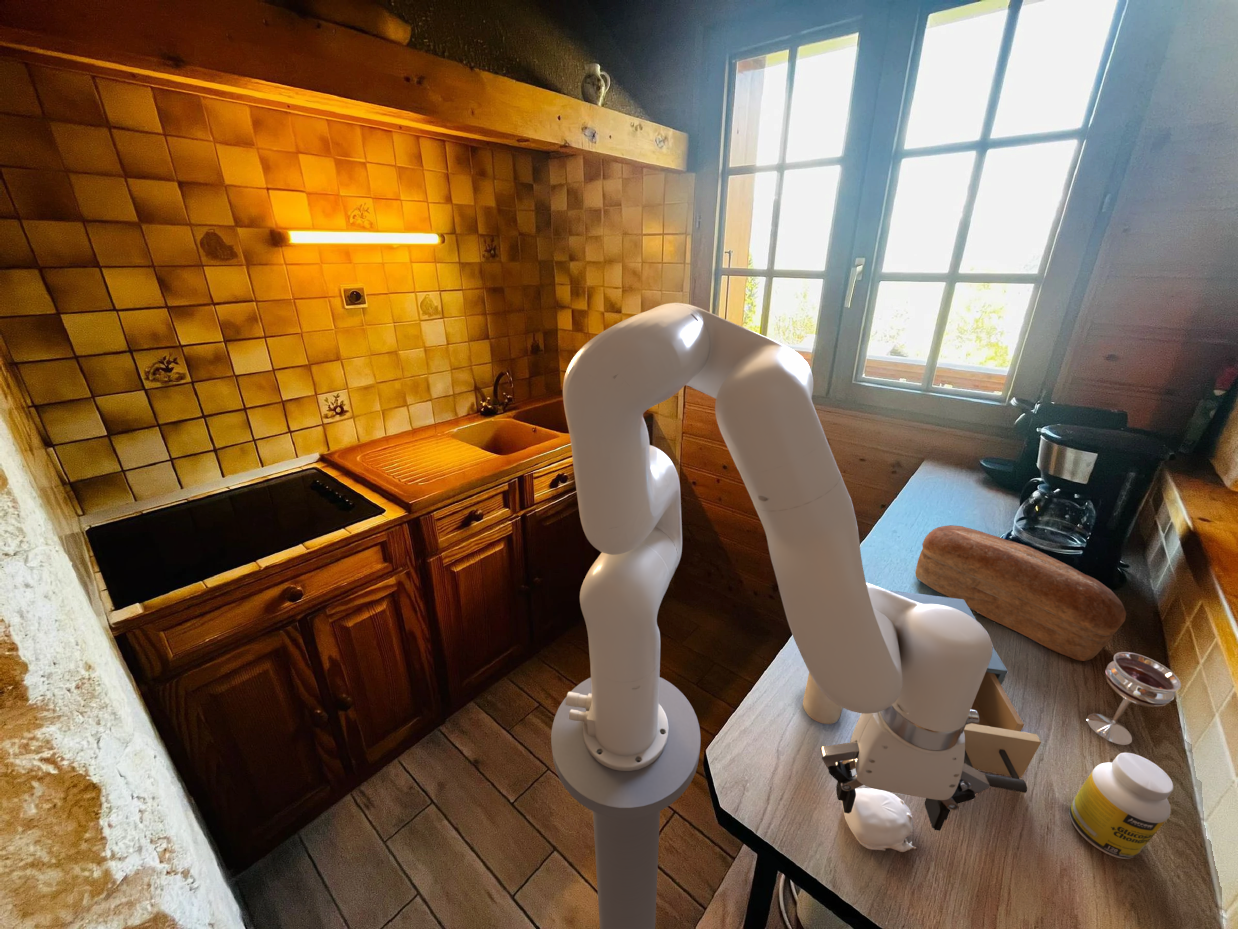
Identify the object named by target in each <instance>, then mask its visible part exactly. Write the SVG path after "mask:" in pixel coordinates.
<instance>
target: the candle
mask: <svg viewBox="0 0 1238 929" xmlns="http://www.w3.org/2000/svg"><path fill="white" fill-rule="evenodd" d="M802 707H803V709H804V711H805V713H806V715H807V716H808V717H809V718H811V719H812V720H814V721H815V722H816V723H820V724H823V725H832V724H835V723H837V722H838V721H839V719H840V718H841V715H842V712H843V709H844V708H843V707H841V706H839V705H837V704H836V703H834V702H833V701H832V700H830V699H829V698H828V697H827V696H826V695H825V694H824V693H823V692H822V691H821V690H820V688H819V687H818V686H817V684H816V683H815V681H814V680H813V678H812V676H811V674H810V673H809V672H808V677H807V681H806V684H805V690H804V695H803V700H802Z"/></svg>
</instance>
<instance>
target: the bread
mask: <svg viewBox="0 0 1238 929" xmlns="http://www.w3.org/2000/svg"><path fill="white" fill-rule="evenodd" d="M915 578H917V579H918V581H920V582H921V583H923V585H926V586H927V587H929V588H930V589H932V590H933V591H935V592H937V593H940V595H943V596H945V597H948V598H956V599H964V600H965V602H966V604H967V605H968V607H969V609H970V610H972V611H974V612H976V613H978V614H980V615H981V616H983V617H985V618H987V619H989V620H991V621H993V622H995V623H997V624H999V625H1002V626H1004V627H1006V628H1008V629H1009V630H1010V629H1011V630H1013V631H1015V632H1016V633H1018V634H1020V635H1023V636H1025V637H1026V638H1028V639H1030V640H1032V641H1034V642H1036V643H1038V644H1039V645H1041V646H1043V647H1045V648H1046V649H1049V650H1051V651H1053V652H1055V653H1057V654H1060V655H1063V656H1065V657H1068V658H1070V659H1073V660H1076V661H1079V662H1083V661H1084V662H1085V661H1090V660H1092V659H1094V658H1095V657H1096V656H1097V655H1098V654H1099V653H1100V651H1102V649H1103V648H1104V647H1105V646H1106V645H1107V644H1108V642H1110V640H1111V639H1112V637H1113V635H1115V634H1116V632H1118V630H1119V628H1121V626H1122V625H1123V624H1124V623H1125V621H1126V616H1127V611H1126V609H1125V607H1124V604H1123V602H1122V601H1121V600H1120V598H1119V597H1118V596H1117V595H1116V594H1115V593H1114V592H1113V591H1112V589H1111V588H1109V587H1108V586H1106V585H1105V584H1103V583H1102V582H1101V581H1099V580H1098V579H1096V578H1094V577H1092V576H1090V575H1088V574H1085V573H1083V572H1081V571H1079V570H1078V569H1076V568H1074V567H1073V566H1071V565H1069V564H1066V563H1065V562H1062V561H1060V560H1058V559H1057V558H1054V557H1052V556H1049V555H1048V554H1046V553H1044V552H1042V551H1039V550H1038V549H1035V548H1033V547H1031V546H1029V545H1025V544H1022V543H1018V542H1016V541H1012V540H1008V539H1005V538H1003V537H1000V536H997V535H994V534H990V533H987V532H984V531H981V530H977V529H974V528H970V527H966V526H963V525H954V524H951V525H942V526H938V527H936V528H934V529H932V530H931V531H930V532H929V533H928V534H926V536H925V538H924V539H923V541H922V549H921V551H920V554H919V557H918V558H917V564H916V566H915Z"/></svg>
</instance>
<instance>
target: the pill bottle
mask: <svg viewBox="0 0 1238 929" xmlns="http://www.w3.org/2000/svg"><path fill="white" fill-rule="evenodd" d="M1174 788H1175V787H1174V783H1173V781H1172V779H1171V777H1170V776H1169V775H1168V773H1166V771H1165V770H1164V769H1162V768H1161V767H1160V766H1159V765H1157V764H1156V763H1154V762H1153V761H1151V760H1149V759H1147V758H1145V757H1143V756H1141V755H1139V754H1135V753H1133V752H1132V753H1131V752H1121V753H1118V754H1117V756H1116V757H1115V758H1114V759H1113V760H1112V761H1109V762H1103V763H1099V764H1098V765H1096V766H1095V767H1094V768H1093V770H1092V771H1091V772H1090V774H1089V775H1088V777H1087V778H1086V780H1085V782H1084V783H1083V784H1082V786H1081V788H1080V789H1079V791H1078V792H1077V794H1076V795H1075V797H1074V799H1073V800H1072V802H1071V803H1070V805H1069V808H1068V813H1069V818H1070V820H1071V823H1072V825H1073V826H1074V828H1075V829H1076V830H1077V832H1078V833H1079V834H1080V835H1081V836H1082V838H1084V839H1085V840H1086V841H1087V842H1088V843H1089V844H1091V845H1092V846H1093V847H1094V848H1096V849H1098V850H1099V851H1101V852H1103V853H1105V854H1107V855H1109V856H1112V857H1114V858H1117V859H1124V860H1127V859H1129V860H1130V859H1133V858H1136V857H1137V856H1138V855H1139V854H1140V853H1141V852H1142V850H1143V849H1144V848H1145V847H1146V846H1147V844H1148V843H1150V841H1151V840H1152V838H1153V837H1154V836H1155V835H1156V834H1157V832H1158V831H1159V830H1160V829H1161V827H1162V826H1163V825H1165V823H1166V822H1167V820H1168V819H1169V818H1170V816H1171V811H1172V810H1171V805H1170V804H1171V803H1170V802H1169V799H1168V798H1170V796H1171V794H1172V793H1173V791H1174Z"/></svg>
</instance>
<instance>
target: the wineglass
mask: <svg viewBox="0 0 1238 929" xmlns="http://www.w3.org/2000/svg"><path fill="white" fill-rule="evenodd" d="M1112 658H1113V660H1112V661H1111V662H1109V663H1108V664H1107V666H1106V667H1105V679H1106V681H1107V683H1108V684H1109V686H1110V687H1111V688H1112V690H1113V691H1114V692H1115V693H1116V695H1118V696H1119V697H1120V698H1121V699H1122V700H1121V701H1120V704H1119V706H1118V708H1117V710H1116V711H1115V713H1114V715H1113V717H1112V718H1111V717H1109V716H1106V715H1103V714H1099V713H1090V714H1088V715H1087V718H1086V721H1087V722H1086V723H1087V724H1088V726H1089V727H1090V728H1091V730H1092V731H1094V732H1095V733H1096V734H1097V735H1098V736H1100V737H1102V738H1103V739H1104V740H1107V741H1109V742H1110V743H1113V744H1117V745H1121V746H1126V745H1130V744H1131V743H1132V742H1133V736H1132V734H1131V733H1130V732H1129V731H1128V729H1127V728H1126V727H1125V726H1124V725H1122V724H1121V723H1120V722H1118V720H1119V719H1120V718H1121V716H1122V715H1123V714H1124V712H1125V711H1126V710H1127V709H1128V707H1129V706H1130V704H1134V705H1136V706H1140V707H1147V708H1161V707H1163V706H1167V705H1168V704H1170V703H1171V702H1172V701H1173V700H1174V699H1175V696H1176V692H1177V691H1178V690H1181V686H1182V683H1181V680H1180V679H1179V677H1178V676H1177V675H1176V674H1175V673H1174V672H1173V671H1172V670H1171V669H1169V668H1168V667H1166V666H1165V665H1163V664H1161V663H1160V662H1158V661H1156V660H1154V659H1152V658H1150V657H1147V656H1145V655H1142V654H1139V653H1135V652H1129V651H1119V652H1117V653H1115V654H1114V655H1113V657H1112Z"/></svg>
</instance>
